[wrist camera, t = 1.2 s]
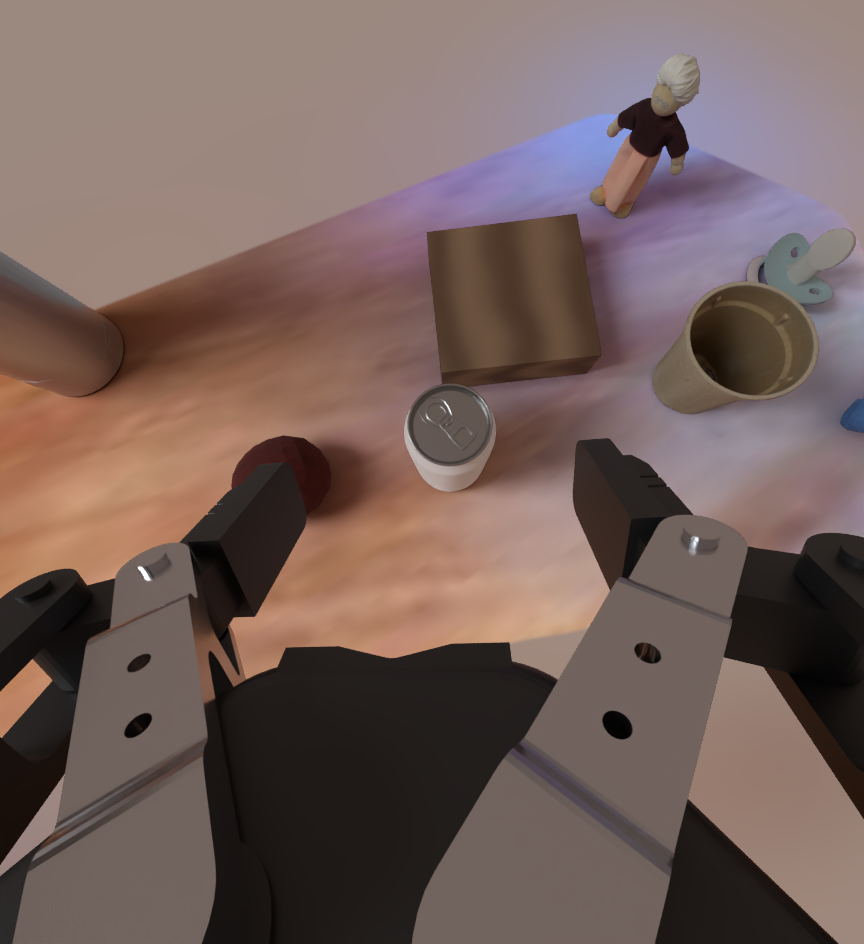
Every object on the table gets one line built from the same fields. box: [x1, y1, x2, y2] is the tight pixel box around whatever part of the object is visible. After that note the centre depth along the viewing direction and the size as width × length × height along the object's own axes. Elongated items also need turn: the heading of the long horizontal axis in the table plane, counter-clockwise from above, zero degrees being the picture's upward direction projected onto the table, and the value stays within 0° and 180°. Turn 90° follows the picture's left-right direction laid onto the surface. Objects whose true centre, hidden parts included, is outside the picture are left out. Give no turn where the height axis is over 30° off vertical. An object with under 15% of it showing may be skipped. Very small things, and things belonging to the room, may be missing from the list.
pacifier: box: [746, 229, 856, 305], centre depth 36 cm, size 7×6×6 cm
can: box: [404, 384, 496, 492], centre depth 32 cm, size 6×6×12 cm
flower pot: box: [653, 281, 819, 414], centre depth 33 cm, size 9×9×9 cm
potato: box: [232, 436, 331, 515], centre depth 35 cm, size 7×8×7 cm
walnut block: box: [427, 214, 602, 387], centre depth 38 cm, size 14×14×4 cm
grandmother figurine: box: [590, 54, 700, 218], centre depth 35 cm, size 8×4×13 cm, turn 60°
